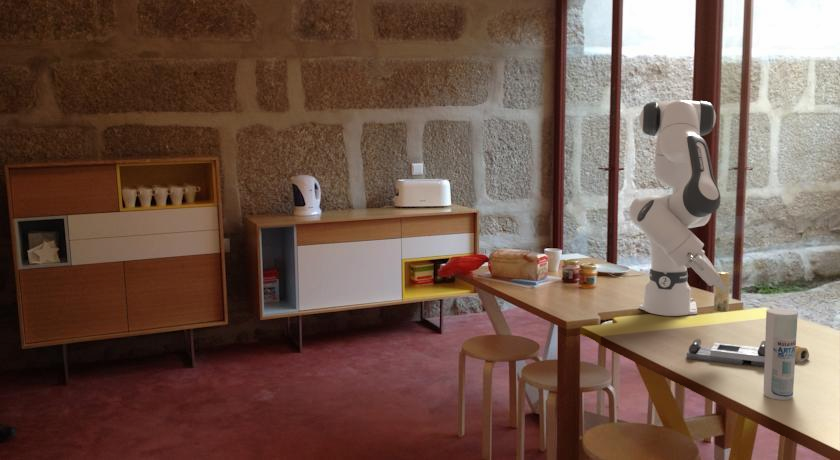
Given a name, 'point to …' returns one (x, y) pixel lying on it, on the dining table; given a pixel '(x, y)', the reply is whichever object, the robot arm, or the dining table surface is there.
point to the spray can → (780, 353)
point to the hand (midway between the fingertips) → (724, 288)
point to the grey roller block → (728, 353)
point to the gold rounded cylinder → (722, 294)
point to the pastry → (801, 354)
